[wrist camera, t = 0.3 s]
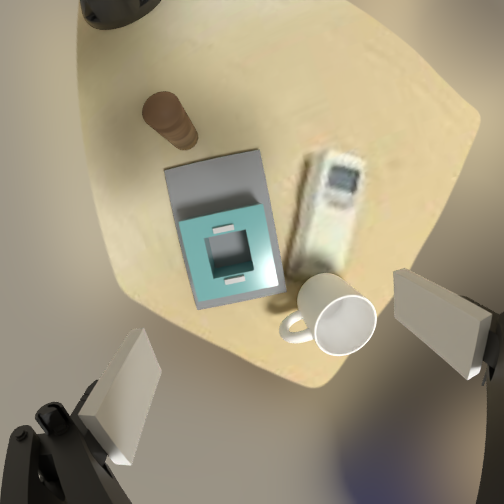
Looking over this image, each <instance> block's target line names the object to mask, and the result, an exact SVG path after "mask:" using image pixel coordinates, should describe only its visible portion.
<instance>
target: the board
mask: <svg viewBox="0 0 504 504" xmlns="http://www.w3.org/2000/svg"><path fill="white" fill-rule="evenodd" d="M164 172H165V177H166V182H167V187H168V192H169V197H170V202H171V206H172V211H173V216H174V220H175V224H176V229H177V233H178V237H179V242H180V246H181V250H182V254H183V258H184V262H185V266H186V270H187V273H188V277H189V281H190V285H191V288H192V292H193V296H194V299H195V303H196V306H197V310H201V309H206V308H211V307H217V306H222V305H227V304H232V303H237V302H242V301H246V300H251V299H256V298H261V297H265V296H270V295H274V294H279V293H283V292H287V290H286V285H285V279H284V273H283V268H282V262H281V256H280V251H279V245H278V240H277V235H276V229H275V224H274V219H273V213H272V208H271V203H270V198H269V193H268V188H267V183H266V178H265V173H264V168H263V163H262V158H261V154H260V150H254V151H249V152H244V153H238V154H233V155H228V156H223V157H219V158H214V159H210V160H205V161H201V162H196V163H192V164H188V165H184V166H180V167H176V168H172V169H168V170H164ZM255 203H262V204H263V207H264V212H265V217H266V222H267V227H268V232H269V238H270V243H271V248H272V253H273V259H274V264H275V269H276V275H277V280H278V286H273V287H269V288H264V289H259V290H255V291H250V292H245V293H240V294H236V295H231V296H226V297H221V298H216V299H211V300H205V301H200V302H198V298H197V294H196V291H195V287H194V283H193V280H192V276H191V272H190V268H189V264H188V260H187V256H186V252H185V248H184V244H183V240H182V235H181V231H180V227H179V222H180V221H182V220H183V219H185V218H190V217H194V216H199V215H203V214H207V213H212V212H217V211H221V210H226V209H231V208H235V207H240V206H245V205H250V204H255ZM209 242H210V246H211V251H212V255H213V259H214V263H215V268H220V267H224V266H229V265H234V264H239V263H243V262H248V261H251V256H250V251H249V246H248V241H247V236H246V231H245V230H241V231H236V232H231V233H226V234H222V235H217V236H212V237H209Z"/></svg>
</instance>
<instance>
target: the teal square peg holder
mask: <svg viewBox="0 0 504 504" xmlns="http://www.w3.org/2000/svg"><path fill="white" fill-rule="evenodd" d="M179 227H180V231H181V235H182V240H183V244H184V248H185V252H186V256H187V260H188V264H189V268H190V272H191V276H192V280H193V283H194V287H195V291H196V294H197V298H198V302H200V301H205V300H211V299H216V298H221V297H226V296H231V295H236V294H240V293H245V292H250V291H255V290H259V289H264V288H269V287H273V286H278V280H277V275H276V269H275V264H274V259H273V253H272V248H271V243H270V238H269V232H268V227H267V222H266V217H265V212H264V207H263V204H262V203H255V204H250V205H245V206H240V207H235V208H231V209H226V210H221V211H217V212H212V213H207V214H203V215H199V216H194V217H190V218H185V219H183V220H182V221H180V222H179ZM241 230H245V231H246V236H247V241H248V246H249V251H250V256H251V261H248V262H243V263H239V264H234V265H229V266H224V267H220V268H215V263H214V259H213V255H212V251H211V246H210V242H209V237H212V236H217V235H222V234H226V233H231V232H236V231H241Z"/></svg>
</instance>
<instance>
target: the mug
mask: <svg viewBox="0 0 504 504" xmlns="http://www.w3.org/2000/svg"><path fill="white" fill-rule="evenodd" d="M297 306H298V310H297V311H295V312H293V313H291V314H290V315H289V316H287V317H286V318H285V319H284V320H283V321H282V323H281V325H280V328H279V333H280V336H281V337H282V338H283V340H285V341H287V342H290V343H302V342H306V341H310V340H313V339H314V340H315V342H316V344H317V345H318V347H319V348H320V349H321V350H322V351H323V352H325V353H327V354H330V355H334V356H343V355H348V354H351V353H353V352H355V351H357V350H358V349H360V348H361V347H363V346H364V345H365V344H366V343H367V342H368V340H369V339H370V338H371V336H372V334H373V332H374V330H375V327H376V321H377V316H376V311H375V308H374V306H373V304H372V303H371V302H370V301H369V300H368V299H367V298H366V297H364V296H363V295H362V294H361V293H360V292H358V291H357V290H356V289H355V288H353V287H352V286H351V285H350V284H348V283H347V282H346V281H345V280H343V279H342V278H341V277H339V276H337V275H335V274H331V273H321V274H317V275H315V276H313V277H311V278H309V279H308V280H307V281H306V282H305V283H304V284H303V286H302V287H301V289H300V291H299V293H298V298H297ZM301 319H303V320H304V322H305V324H306V326H307V327H308V328H307V329H305V330H303V331H300V332H290V331H289V328H290V326H291V325H292V324H293V323H295V322H297V321H299V320H301Z"/></svg>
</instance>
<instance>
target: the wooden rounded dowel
mask: <svg viewBox="0 0 504 504" xmlns="http://www.w3.org/2000/svg"><path fill="white" fill-rule="evenodd" d="M142 115H143V118H144V120H145V122H146V123H147V124H148V125H150V126H151V127H152V128H153V129H155V130H156V131H157V132H158V133H159V134H161V135H162V136H163V137H164V138H166V139H167V140H168V141H169V142H170V143H172V144H173V145H174V146H175V147H176V148H178V149H180V150H188V149H191V148H192V147H194V146H195V144H196V143H197V140H198V133H197V131H196V129H195V128H194V126H193V124H192V122H191V120H190V119H189V117H188V115H187V113H186V112H185V110H184V108H183V106H182V105H181V103H180V101H179V99H178V98H177V97H176V96H175V95H174V94H173V93H170V92H166V91H163V92H158V93H155V94H153V95H152V96H150V97H149V98H148V99H147V101H146V102H145V104H144V106H143V110H142Z"/></svg>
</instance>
